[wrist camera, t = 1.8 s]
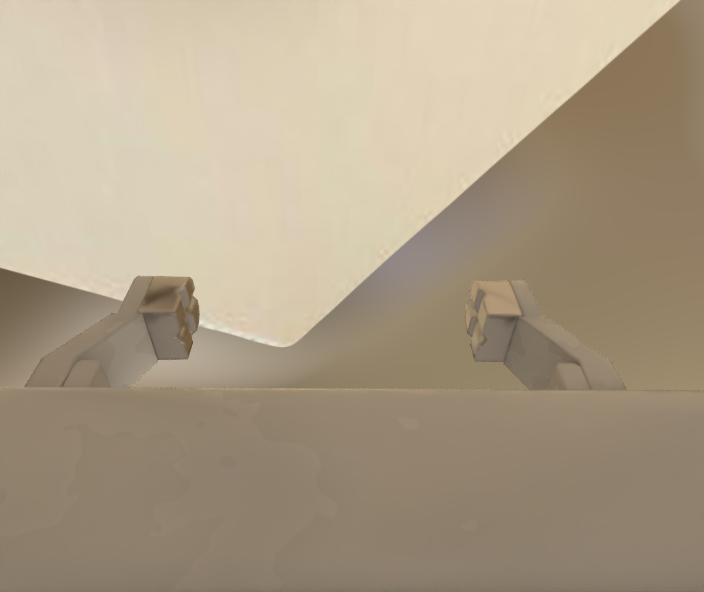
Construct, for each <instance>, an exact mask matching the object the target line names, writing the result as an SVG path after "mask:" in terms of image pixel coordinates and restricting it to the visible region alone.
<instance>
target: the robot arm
mask: <svg viewBox="0 0 704 592" xmlns="http://www.w3.org/2000/svg"><path fill="white" fill-rule="evenodd" d="M194 289H195V287H194V284H193V280H192V279H191V278H190V277H168V276H137V277H136V278H135V279H134V280H133V282H132V284H131V286H130V288H129V290H128V292H127V294H126V296H125V298H124V300H123V302H122V304H121V306H120V308H119V310H118V312H117V313H112V314H110V315H108V316H107V317H105V318H104V319H102V320H101V321H99V322H97V323H96V324H94V325H93V326H91V327H90V328H88V329H86V330H85V331H83V332H82V333H80V334H79V335H77V336H76V337H74V338H72V339H71V340H69V341H68V342H66V343H65V344H63V345H62V346H60V347H58V348H57V349H55V350H54V351H52V352H51V353H49V354H48V355H46V356H44V357H43V358H42V359H41V360H40V362H39V363H38V365H37V367H36V368H35V370H34V372H33V373H32V375H31V377H30V378H29V380H28V381H27V383H26V385H25V386H24V387H0V592H704V391H699V390H696V391H695V390H692V391H690V390H689V391H688V390H687V391H686V390H627V389H626V387H625V385H624V383H623V381H622V379H621V377H620V375H619V374H618V372H617V370H616V368H615V366H614V364H613V362H611V361H610V360H608V359H607V358H606V357H604V356H603V355H601V354H600V353H598V352H597V351H596V350H594V349H593V348H591V347H590V346H588V345H587V344H586V343H584V342H583V341H581V340H580V339H578V338H577V337H575V336H574V335H573V334H571V333H570V332H568V331H567V330H565V329H564V328H563V327H561V326H560V325H558V324H557V323H555V322H554V321H553V320H551V319H550V318H548V317H543V316H542V314H541V312H540V310H539V307H538V305H537V303H536V301H535V299H534V297H533V294H532V292H531V290H530V287H529V285H528V283H527V281H525V280H507V281H500V280H494V281H493V280H492V281H491V280H481V281H480V280H474V281H473V282H472V285H471V289H470V293H471V297H472V299H471V300H470V301H468V302H467V307H466V312H465V323H466V329H467V333H468V334H469V335H470V336H471V337H472V340H471V344H470V345H471V349H472V352H473V356H474V359H475V361H483V362H504V364H505V365H506V367H507V368H508V369H509V370H510V371H511V372H512V373H513V374H514V375H515V376H516V377H517V378H518V379H519V380H520V381H521V382H522V383H523V384H524V385H525V386H526V387H527V388H528V389H529V390H476V389H472V390H471V389H470V390H469V389H466V390H465V389H279V388H278V389H276V388H274V389H272V388H270V389H269V388H267V389H266V388H131V387H132V386H133V385H134V384H135V383H136V382H137V381H138V380H139V379H140V378H141V377H142V376H143V375H144V374H145V373H146V372H148V371H149V370H150V369H151V368H152V367H153V366H154V365H155V364H156V363H157V362H158V360H176V359H177V360H178V359H188V357H189V354H190V350H191V347H192V344H193V340H192V336H191V335H192V334H194V333H195V332H196V331H197V328H198V324H199V315H200V314H199V305H198V300H197V299H196V298H195V297H194V296H192V295H193V292H194Z"/></svg>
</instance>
